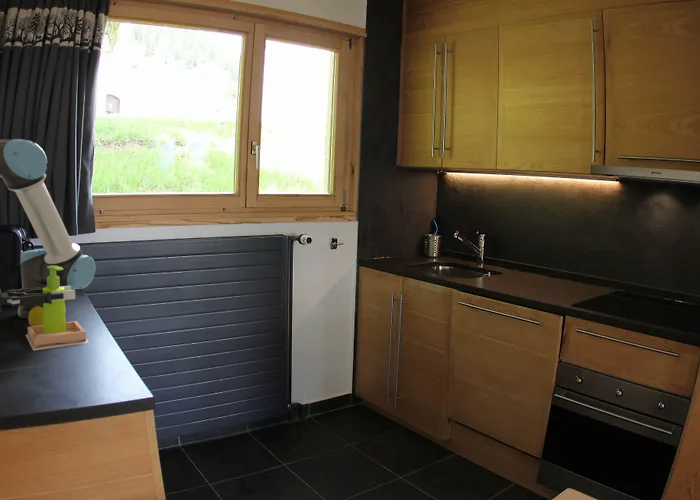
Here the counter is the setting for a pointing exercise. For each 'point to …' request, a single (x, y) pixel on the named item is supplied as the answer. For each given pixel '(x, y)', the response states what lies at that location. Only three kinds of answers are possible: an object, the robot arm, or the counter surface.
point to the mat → (55, 345)
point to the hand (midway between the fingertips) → (72, 292)
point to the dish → (56, 335)
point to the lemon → (36, 316)
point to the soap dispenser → (54, 304)
